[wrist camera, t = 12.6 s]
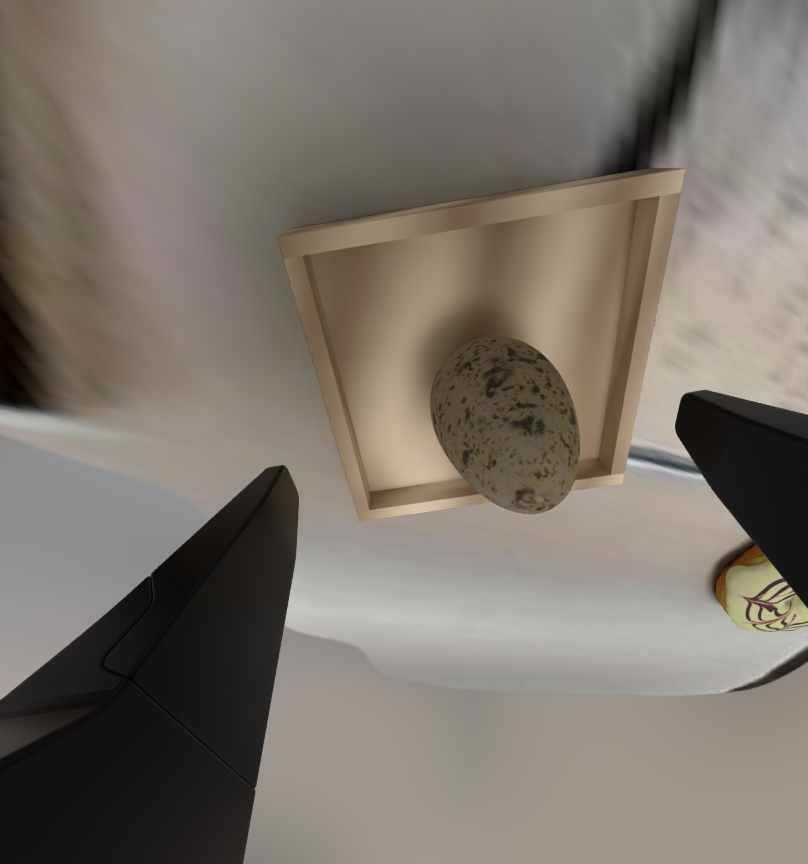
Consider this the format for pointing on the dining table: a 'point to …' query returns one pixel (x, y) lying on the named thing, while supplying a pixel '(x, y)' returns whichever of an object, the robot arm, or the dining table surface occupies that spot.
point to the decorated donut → (759, 595)
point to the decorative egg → (507, 423)
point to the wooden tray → (481, 319)
